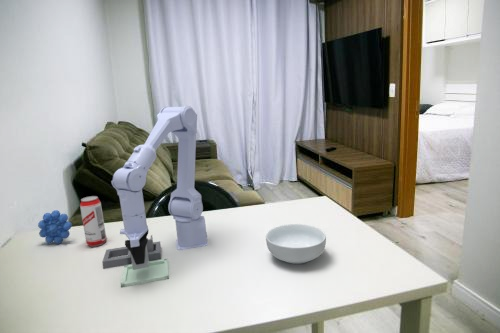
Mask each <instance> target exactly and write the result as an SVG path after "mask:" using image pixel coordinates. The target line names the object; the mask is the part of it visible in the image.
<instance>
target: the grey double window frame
mask: <svg viewBox="0 0 500 333" xmlns="http://www.w3.org/2000/svg"><path fill="white" fill-rule="evenodd" d="M153 246H154V251H153V252H148V258H149V262H150V261H156V260H162V247H161V246H162V245H161V241H153ZM101 263H102V269H103V270H104V269H110V268H117V267H123V266H126V265H132V260H131V254H130V251H129V249H128V248H127V247H126V246H122V247H115V248H108V249H105V253H104V255H103V259H102V262H101Z"/></svg>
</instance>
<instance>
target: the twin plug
mask: <svg viewBox="0 0 500 333" xmlns="http://www.w3.org/2000/svg"><path fill="white" fill-rule="evenodd" d="M147 238H148V242H147V251H148V252H153V251H154V246H153V242H154V239H153V234H150V235H147Z"/></svg>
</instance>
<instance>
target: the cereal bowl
mask: <svg viewBox="0 0 500 333" xmlns="http://www.w3.org/2000/svg"><path fill="white" fill-rule="evenodd" d="M265 242H266V246H267V249H268V251H269V253H270V254H271V255H272V256H274V257H275V258H276V259H278V260H280V261H283V262H286V263H287V264H288V263H289V264H292V265H297V264H298V265H299V264H305V263H308V262H310V261H313V260H315V259H317V258H319V257H320V255H322V253H323V252H324V250H326V246H327V245H326V244H327V243H326V242H327V235H326V233H325V232H324V231H323V230H322V229H320V228H319V227H316V226H314V225H309V224H301V223H294V224H293V223H292V224H291V223H290V224H284V225H279V226H276V227H274V228H271V229H270V230H268V231H267V233H266V234H265Z"/></svg>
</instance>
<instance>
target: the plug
mask: <svg viewBox="0 0 500 333" xmlns="http://www.w3.org/2000/svg"><path fill="white" fill-rule="evenodd" d="M130 254H131V252H130ZM131 260H132V264H131V265H132V267H133V270H136V269H141V268H147V267H149V262H150V261H149V258H148V251H147V245H146V248H145V261H144V264H138V265H136V263H135V261H134V259H133V256H132V254H131Z"/></svg>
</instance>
